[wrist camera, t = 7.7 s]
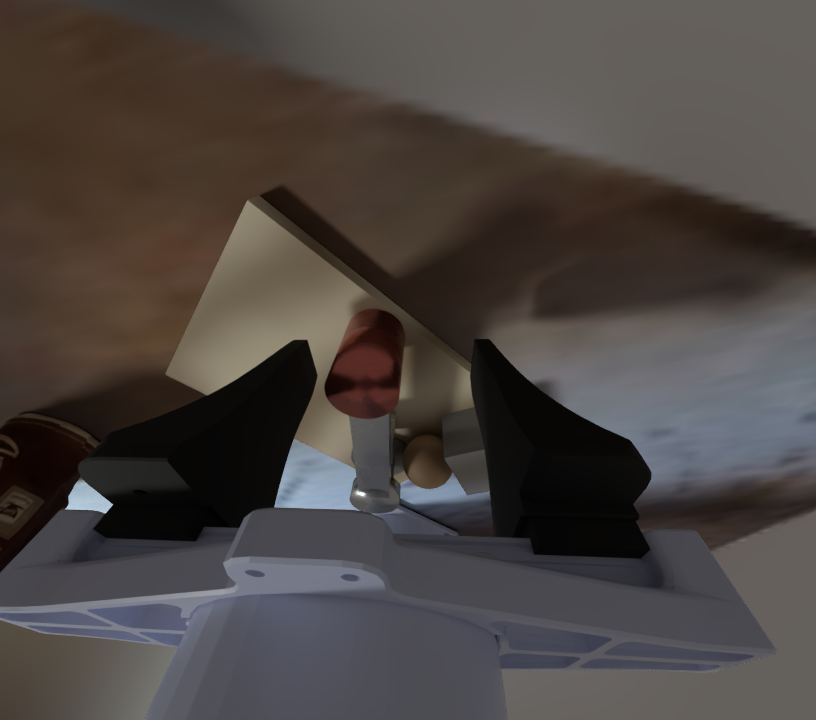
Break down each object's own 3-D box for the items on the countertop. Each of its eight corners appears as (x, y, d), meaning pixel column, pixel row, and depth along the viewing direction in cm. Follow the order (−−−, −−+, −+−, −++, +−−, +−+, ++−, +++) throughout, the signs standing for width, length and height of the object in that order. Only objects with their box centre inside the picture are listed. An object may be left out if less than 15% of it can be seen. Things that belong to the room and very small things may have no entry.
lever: (402, 469, 22) (397, 531, 18) (360, 466, 22) (348, 528, 18) (408, 308, 14) (403, 366, 10) (342, 305, 14) (316, 361, 10)
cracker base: (530, 410, 19) (551, 468, 16) (407, 482, 25) (404, 535, 22) (258, 195, 12) (198, 220, 9) (176, 363, 18) (122, 415, 15)
